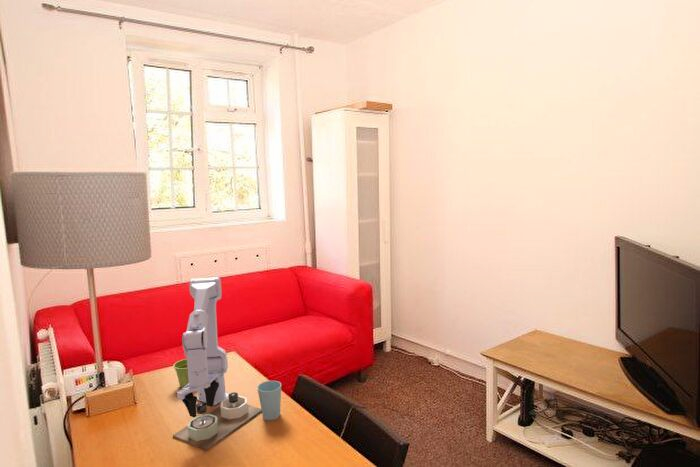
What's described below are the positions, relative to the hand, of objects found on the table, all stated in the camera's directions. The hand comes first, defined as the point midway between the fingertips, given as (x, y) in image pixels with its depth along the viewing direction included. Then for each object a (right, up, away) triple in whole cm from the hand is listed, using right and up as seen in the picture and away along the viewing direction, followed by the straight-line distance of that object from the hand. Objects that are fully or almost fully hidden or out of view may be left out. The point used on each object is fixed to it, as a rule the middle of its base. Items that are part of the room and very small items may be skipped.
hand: (201, 410), depth 135 cm
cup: (+20, -6, +10) cm, 23 cm away
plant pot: (-17, -4, +35) cm, 39 cm away
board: (+4, -7, +6) cm, 10 cm away
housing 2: (+7, -6, +12) cm, 15 cm away
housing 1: (0, -8, +1) cm, 8 cm away
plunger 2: (+7, -5, +12) cm, 15 cm away
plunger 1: (0, -4, +1) cm, 4 cm away
